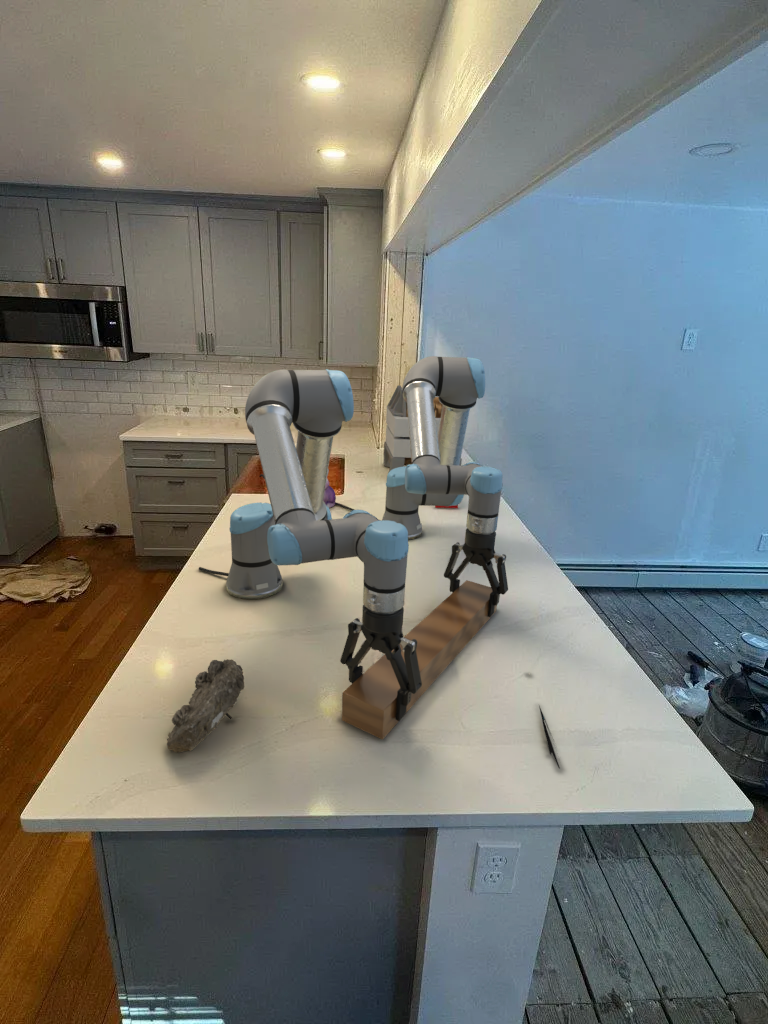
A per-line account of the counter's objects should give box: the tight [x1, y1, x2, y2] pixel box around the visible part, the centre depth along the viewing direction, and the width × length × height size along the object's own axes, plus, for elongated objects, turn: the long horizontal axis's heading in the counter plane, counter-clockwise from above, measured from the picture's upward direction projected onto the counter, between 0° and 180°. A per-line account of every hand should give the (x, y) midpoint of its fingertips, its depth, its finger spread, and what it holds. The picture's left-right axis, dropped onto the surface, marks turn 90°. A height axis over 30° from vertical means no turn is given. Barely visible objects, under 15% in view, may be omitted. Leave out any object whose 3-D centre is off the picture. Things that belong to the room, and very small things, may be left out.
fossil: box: [166, 658, 245, 754], centre depth 106 cm, size 22×10×15 cm
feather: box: [528, 673, 561, 769], centre depth 112 cm, size 2×28×2 cm
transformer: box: [383, 384, 463, 471], centre depth 268 cm, size 34×33×41 cm
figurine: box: [323, 468, 337, 509], centre depth 222 cm, size 9×10×15 cm
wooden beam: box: [341, 579, 498, 740], centre depth 129 cm, size 58×9×7 cm, turn 149°
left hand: (378, 706), depth 111 cm, fingers closed on wooden beam, 9 cm apart
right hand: (472, 608), depth 148 cm, fingers open, 9 cm apart
